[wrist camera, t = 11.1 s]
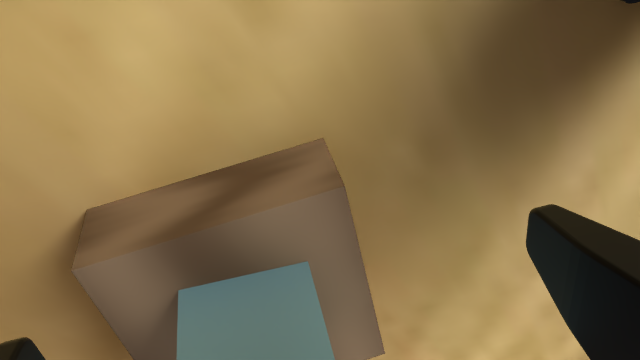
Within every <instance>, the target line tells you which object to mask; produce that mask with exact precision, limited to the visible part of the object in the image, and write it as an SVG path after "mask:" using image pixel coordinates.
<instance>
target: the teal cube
mask: <svg viewBox="0 0 640 360" xmlns="http://www.w3.org/2000/svg"><path fill="white" fill-rule="evenodd" d="M176 360H335V358H334V354H333V351H332V347H331V344H330V340H329V336H328V333H327V329H326V325H325V322H324V318H323V314H322V311H321V307H320V303H319V300H318V296H317V292H316V289H315V285H314V282H313V278H312V274H311V271H310V267H309V263H308V261H307V262H302V263H298V264H293V265H289V266H284V267H280V268H275V269H271V270H267V271H262V272H258V273H253V274H249V275H244V276H240V277H235V278H231V279H227V280H222V281H218V282H213V283H209V284H204V285H200V286H195V287H191V288H187V289H182V290H178V322H177V359H176Z"/></svg>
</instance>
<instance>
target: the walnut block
mask: <svg viewBox="0 0 640 360" xmlns="http://www.w3.org/2000/svg"><path fill="white" fill-rule="evenodd" d="M307 261H308V263H309V267H310V271H311V274H312V278H313V282H314V285H315V289H316V292H317V296H318V300H319V303H320V307H321V311H322V314H323V318H324V322H325V325H326V329H327V333H328V336H329V340H330V344H331V347H332V351H333V354H334V358H335V360H367V359H370V358H373V357H376V356H379V355H382V354H385V351H384V347H383V343H382V339H381V335H380V331H379V327H378V322H377V318H376V314H375V310H374V306H373V302H372V298H371V293H370V289H369V285H368V281H367V277H366V273H365V268H364V264H363V260H362V256H361V252H360V248H359V244H358V239H357V235H356V231H355V227H354V223H353V219H352V215H351V210H350V206H349V202H348V198H347V194H346V190H345V186H344V183H343V181H342V179H341V177H340V175H339V172H338V170H337V168H336V166H335V163H334V161H333V159H332V157H331V154H330V152H329V150H328V148H327V145H326V143H325V141H324V139H323V138H321V139H318V140H315V141H312V142H308V143H305V144H302V145H298V146H295V147H292V148H288V149H285V150H282V151H279V152H275V153H272V154H269V155H265V156H262V157H259V158H256V159H252V160H249V161H246V162H242V163H239V164H236V165H232V166H229V167H226V168H223V169H219V170H216V171H213V172H209V173H206V174H203V175H200V176H196V177H193V178H190V179H186V180H183V181H180V182H176V183H173V184H170V185H167V186H163V187H160V188H157V189H153V190H150V191H147V192H144V193H140V194H137V195H134V196H130V197H127V198H124V199H120V200H117V201H114V202H111V203H107V204H104V205H101V206H97V207H94V208H91V209H88V210H87V211H86V215H85V219H84V223H83V227H82V231H81V235H80V238H79V242H78V246H77V250H76V254H75V258H74V262H73V266H72V269H71V272H72V273H73V274H74V276H75V277H76V279H77V280H78V281H79V283H80V284H81V286H82V287H83V288H84V290H85V291H86V293H87V294H88V296H89V297H90V298H91V300H92V301H93V303H94V304H95V305H96V307H97V308H98V310H99V311H100V312H101V314H102V315H103V317H104V318H105V320H106V321H107V322H108V324H109V325H110V327H111V328H112V329H113V331H114V332H115V334H116V335H117V337H118V338H119V339H120V341H121V342H122V344H123V345H124V346H125V348H126V349H127V351H128V352H129V353H130V355H131V356H132V358H133V359H134V360H176V359H177V322H178V290H182V289H187V288H191V287H195V286H200V285H204V284H209V283H213V282H218V281H222V280H227V279H231V278H235V277H240V276H244V275H249V274H253V273H258V272H262V271H267V270H271V269H275V268H280V267H284V266H289V265H293V264H298V263H302V262H307Z"/></svg>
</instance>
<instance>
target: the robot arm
mask: <svg viewBox="0 0 640 360" xmlns="http://www.w3.org/2000/svg"><path fill="white" fill-rule="evenodd" d="M620 1H623V2H625V3H636V2H640V0H620ZM526 247H527V251H528V254H529V256H530V258H531V260H532V261H533V263H534V265H535V267H536V269H537V271H538V273H539V275H540V276H541V278H542V280H543V282H544V284H545V286H546V288H547V289H548V291H549V293H550V295H551V297H552V299H553V301H554V303H555V304H556V306H557V308H558V310H559V312H560V314H561V315H562V317H563V319H564V321H565V322H566V324H567V326H568V327H569V329H570V330H571V332H572V333H573V335H574V336H575V338H576V339H577V341H578V342H579V344H580V345H581V347H582V348H583V350H584V351H585V352H586V354H587V355H588V357H589V358H590V360H640V240H637V239H635V238H633V237H630V236H628V235H626V234H623V233H621V232H618V231H616V230H614V229H611V228H609V227H607V226H604V225H602V224H600V223H597V222H595V221H593V220H590V219H588V218H585V217H583V216H581V215H578V214H576V213H574V212H571V211H569V210H567V209H564V208H562V207H559V206H557V205H553V204H551V205H546V206H542V207H538V208H534V209H532V210H531V211H530V213H529V218H528V228H527V237H526ZM0 360H45V358H44V357H43V355H42V354H41V353H40V351H39V350H38V348H37V347H36V346H35V344H34V343H33V342H32V340H31V339H29V338H27V337H25V338H24V337H23V338H19V339H15V340H11V341H7V342H4V343H1V344H0Z"/></svg>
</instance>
